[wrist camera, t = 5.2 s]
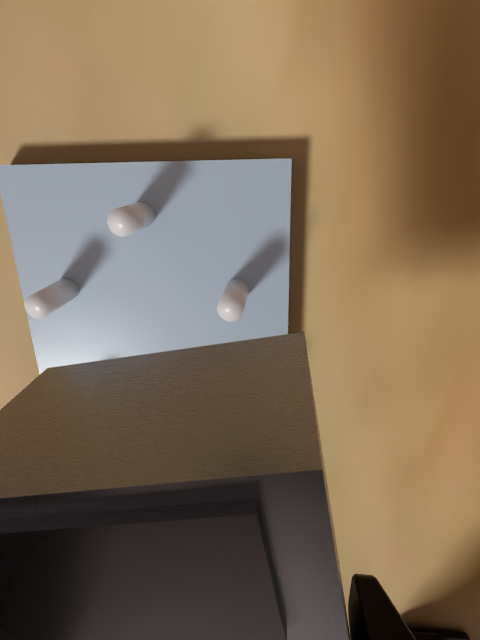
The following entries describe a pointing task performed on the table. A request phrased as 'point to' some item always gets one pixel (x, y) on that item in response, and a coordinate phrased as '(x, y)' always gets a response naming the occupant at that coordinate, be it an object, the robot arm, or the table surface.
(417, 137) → the table surface
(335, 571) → the block
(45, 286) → the pin cradle
